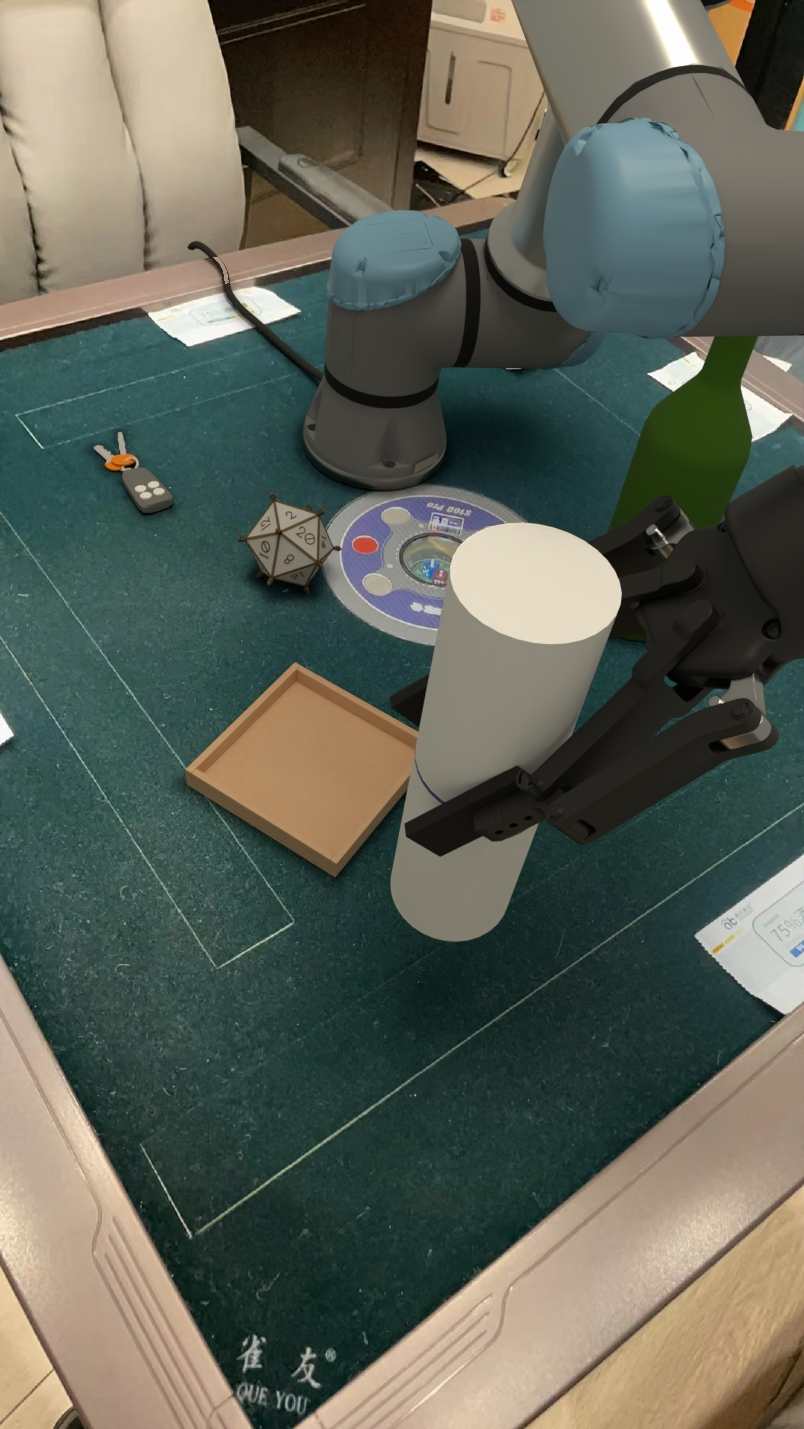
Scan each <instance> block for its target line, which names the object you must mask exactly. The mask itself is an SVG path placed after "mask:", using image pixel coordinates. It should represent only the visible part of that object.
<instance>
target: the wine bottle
mask: <svg viewBox="0 0 804 1429" xmlns="http://www.w3.org/2000/svg"><path fill="white" fill-rule="evenodd" d="M758 338H759V336H726V337H713V339H712V342H711V345H710V347H709V350H708V352H707V354H706V357H705V360H704V362H703V365H702V368H700V370H699V371H698V372H697V373H696V374H695V375H694V376H693V377H691V378H690V379H689V380H687V381H686V382H684V383H683V384H682V385H680V386H679V387H678V388H676V389H675V390H673V391H672V392H671V393H669V394H668V395H667V396H666V397H664V398H662V399H661V400H660V401H659V402H658V403H657V404H656V405H654V406H653V408H652V409H651V411H650V413H649V415H648V416H647V417H646V419H645V420H644V422H643V426H642V428H641V431H640V434H639V437H638V441H637V443H636V446H635V449H634V453H633V454H632V458H631V461H630V464H629V467H628V470H627V473H626V476H625V478H624V482H623V485H622V488H621V491H620V494H619V497H618V500H617V503H616V505H615V508H614V512H613V515H612V517H611V520H610V524H609V527H608V529H607V532H609V531H611V530H613V529H615V528H617V527H619V526H621V525H624V524H626V523H627V522H629V521H630V520H631V519H632V518H633V517H635V516H636V515H637V514H638V513H639V512H641V511H642V510H643V509H644V508H645V507H647V506H648V505H649V504H650V503H652V502H653V501H654V500H655V499H657V498H658V497H660V496H663V495H669V496H671V497H672V498H673V499H674V501H675V502H676V503H677V504H678V506H679V507H680V508H681V509H682V511H683V512H684V513H685V514H686V516H687V517H688V518H689V519H690V521H691V522H692V523H693V524H694V526H695V528H696V529H698V528H703V527H709V526H713V525H716V524H719V523H721V522H723V521H722V520H723V518H724V513H725V509H726V507H727V505H728V504H729V503H730V502H731V501H732V498H733V495H734V493H735V492H736V489H737V486H738V484H739V482H740V479H741V478H742V475H743V472H744V471H745V468H746V466H747V464H748V461H749V458H750V454H751V449H752V448H751V447H752V442H753V432H752V428H751V425H750V419H749V416H748V412H747V407H746V404H745V399H744V395H743V390H742V379H743V377H744V374H745V372H746V369H747V366H748V364H749V361H750V359H751V357H752V353H753V351H754V348H755V346H756V343H757V341H758ZM664 562H665V561H664ZM664 562H663V563H664ZM663 563H662V564H660V565H658V566H657V567H655V568H653V569H657V568H660V567H661V566H662V565H663ZM653 569H652V570H653ZM621 639H625V640H627V641H628V640H629V641H636V642H646V637H643V636H640V635H629V636H625V637H621Z"/></svg>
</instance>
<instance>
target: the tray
mask: <svg viewBox="0 0 804 1429" xmlns="http://www.w3.org/2000/svg"><path fill="white" fill-rule="evenodd" d="M418 732H419V731H417V730H416V729H414V728H412V727H410V726H408V725H407V724H405V723H403V721H400V720H398V719H396V718H395V717H392V716H391V715H390V714H387V713H385V712H384V711H382V710H381V709H379V708H377V707H375V706H373V705H371V704H370V703H368V702H367V701H364V700H362V699H361V698H359V697H358V696H356V695H354V694H352V693H350V692H349V691H346V690H345V689H343V688H342V687H340V686H338V685H336V684H334V683H333V682H331V681H329V680H328V679H326V678H324V677H322V676H320V675H319V674H317V673H315V672H313V671H311V670H310V669H308V668H306V667H304V666H302V665H301V664H299V663H298V662H296V661H295V662H294V663H292V664H291V665H290V666H289V668H287V669H286V670H285V672H283V673H282V674H281V675H279V677H278V678H277V679H276V680H275V681H274V682H272V684H271V685H270V686H269V687H268V688H267V689H266V690H265V691H264V692H263V693H262V694H260V696H259V697H258V698H257V699H255V701H254V702H252V703H251V705H249V706H248V707H247V709H245V710H244V711H243V712H242V713H241V714H240V715H239V716H238V717H237V718H236V719H235V720H234V721H233V722H232V723H231V724H230V725H229V726H228V727H227V728H226V729H225V730H224V731H223V732H222V733H221V734H220V735H219V736H217V738H216V739H215V740H214V741H213V742H212V743H211V744H210V745H208V746H207V747H206V749H205V750H203V751H202V752H201V753H200V755H198V756H197V757H196V758H195V759H194V760H193V761H192V762H191V763H190V764H189V765H188V766H187V767H186V768H185V780H186V785H187V786H188V787H190V788H191V789H193V790H194V791H197V792H198V793H200V794H201V795H203V796H204V797H206V798H207V799H209V800H211V801H212V802H213V803H216V804H217V805H219V806H220V807H222V808H224V809H225V810H227V811H228V812H229V813H232V814H233V815H235V816H236V817H238V818H239V819H241V820H242V821H244V822H245V823H247V824H249V825H250V826H252V827H254V828H255V829H257V830H259V831H260V832H262V833H263V834H264V835H266V836H268V837H270V838H271V839H272V840H274V841H276V842H278V843H279V844H281V845H283V846H284V847H286V848H287V849H288V850H290V851H292V852H293V853H295V854H297V856H300V857H301V858H303V859H305V860H307V861H308V862H310V863H311V864H313V865H314V866H316V867H318V868H319V869H321V870H322V871H324V872H325V873H326V874H328V875H330V876H332V877H334V878H336V877H337V876H338V875H339V874H340V872H341V871H342V870H343V869H344V867H346V865H347V864H348V863H349V861H350V860H351V859H352V858H353V856H354V855H355V854H356V853H357V851H359V849H360V848H361V847H362V846H363V844H364V843H365V842H366V841H367V840H368V838H369V837H370V836H371V834H372V833H373V832H374V831H375V830H376V828H377V827H378V826H379V825H380V824H381V823H382V821H383V820H384V819H385V817H386V816H387V815H388V814H389V812H390V811H391V810H392V809H393V808H394V806H395V805H396V804H397V803H398V802H399V800H400V799H401V798H402V797H403V795H404V794H405V793H406V792H407V790H408V784H409V779H410V774H411V769H412V764H413V758H414V753H415V749H416V743H417V737H418Z"/></svg>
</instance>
